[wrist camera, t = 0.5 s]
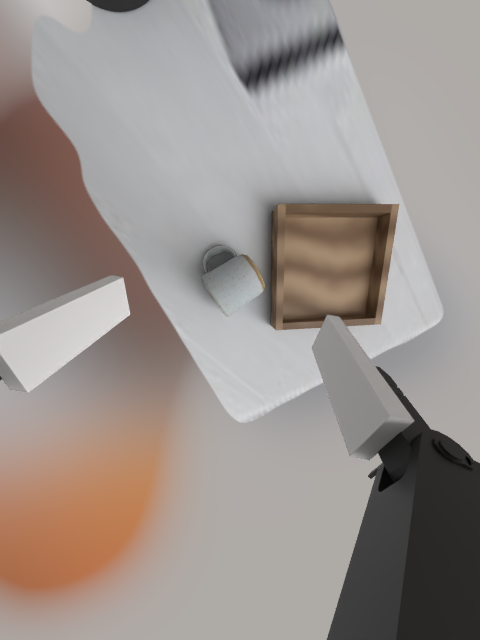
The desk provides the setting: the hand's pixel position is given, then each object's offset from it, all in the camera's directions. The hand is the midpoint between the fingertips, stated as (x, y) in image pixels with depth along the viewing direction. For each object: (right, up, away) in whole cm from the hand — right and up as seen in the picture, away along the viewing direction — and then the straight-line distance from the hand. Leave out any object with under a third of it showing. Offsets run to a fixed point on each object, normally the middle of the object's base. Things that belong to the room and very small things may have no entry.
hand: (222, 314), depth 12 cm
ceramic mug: (-1, +7, +21) cm, 22 cm away
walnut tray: (+17, +9, +22) cm, 29 cm away
